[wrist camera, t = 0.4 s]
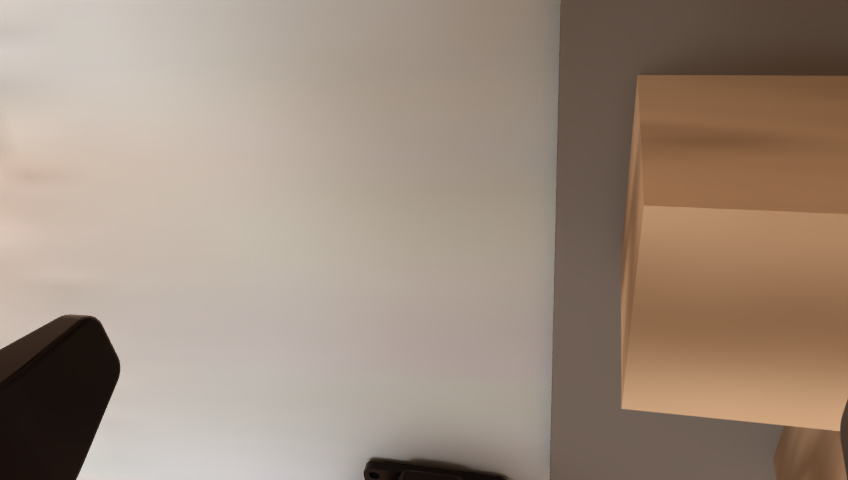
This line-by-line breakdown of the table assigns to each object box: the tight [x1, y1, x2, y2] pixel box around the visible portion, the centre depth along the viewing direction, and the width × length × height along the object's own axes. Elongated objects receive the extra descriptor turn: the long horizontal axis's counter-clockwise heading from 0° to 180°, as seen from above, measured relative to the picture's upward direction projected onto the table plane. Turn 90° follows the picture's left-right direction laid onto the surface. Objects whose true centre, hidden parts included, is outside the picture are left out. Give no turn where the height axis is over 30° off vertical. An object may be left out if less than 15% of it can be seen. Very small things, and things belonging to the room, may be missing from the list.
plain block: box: [621, 75, 848, 431], centre depth 17 cm, size 6×6×6 cm
